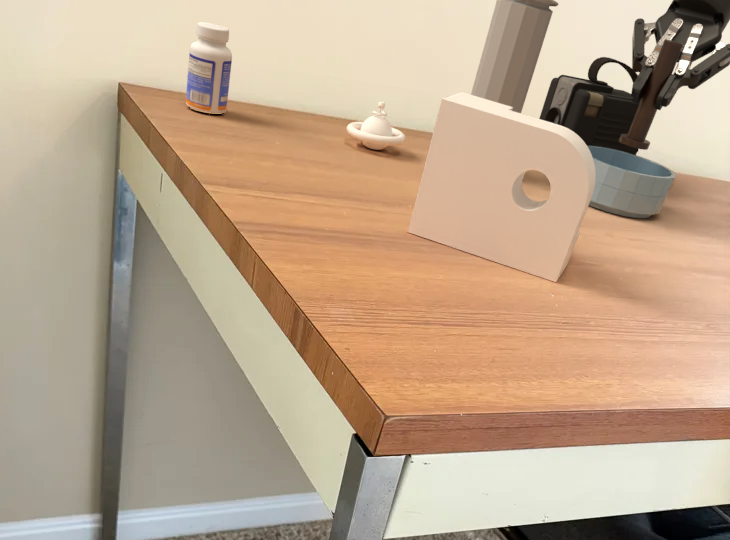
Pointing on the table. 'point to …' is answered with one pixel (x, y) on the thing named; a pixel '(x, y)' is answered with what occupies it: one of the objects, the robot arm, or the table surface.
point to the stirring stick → (652, 96)
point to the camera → (592, 107)
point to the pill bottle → (209, 69)
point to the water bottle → (512, 51)
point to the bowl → (629, 183)
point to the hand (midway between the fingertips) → (647, 100)
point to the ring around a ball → (376, 131)
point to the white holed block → (503, 186)
